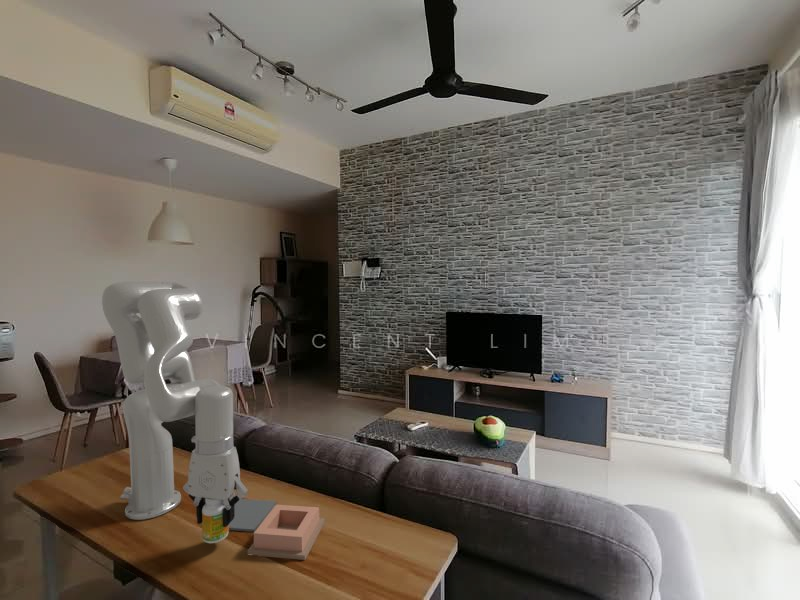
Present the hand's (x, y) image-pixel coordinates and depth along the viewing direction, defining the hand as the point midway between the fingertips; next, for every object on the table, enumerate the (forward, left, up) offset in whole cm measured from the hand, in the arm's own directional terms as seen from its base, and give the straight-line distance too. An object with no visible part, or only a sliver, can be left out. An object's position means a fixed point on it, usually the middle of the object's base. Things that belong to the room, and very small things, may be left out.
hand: (215, 520), depth 87 cm
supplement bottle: (0, 0, -4) cm, 4 cm away
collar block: (+15, +4, -6) cm, 17 cm away
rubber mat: (0, +11, -6) cm, 13 cm away
